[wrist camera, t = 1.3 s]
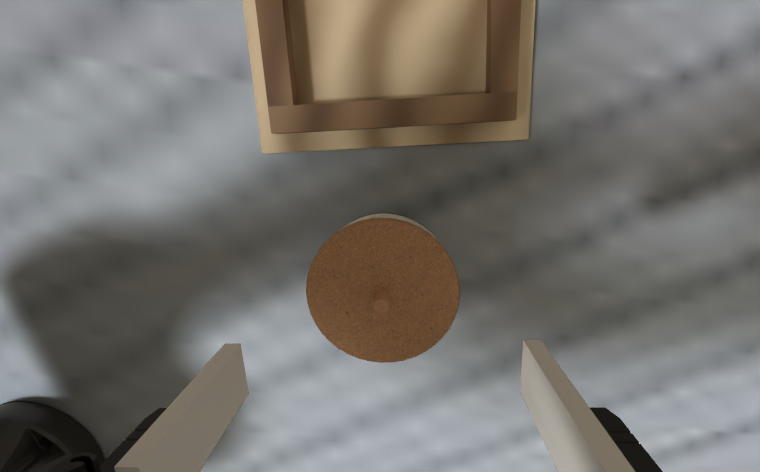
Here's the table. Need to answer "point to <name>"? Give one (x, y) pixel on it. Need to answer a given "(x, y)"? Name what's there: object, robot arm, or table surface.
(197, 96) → the table surface
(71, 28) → the table surface
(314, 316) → the lidded jar
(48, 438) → the robot arm
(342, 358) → the table surface
